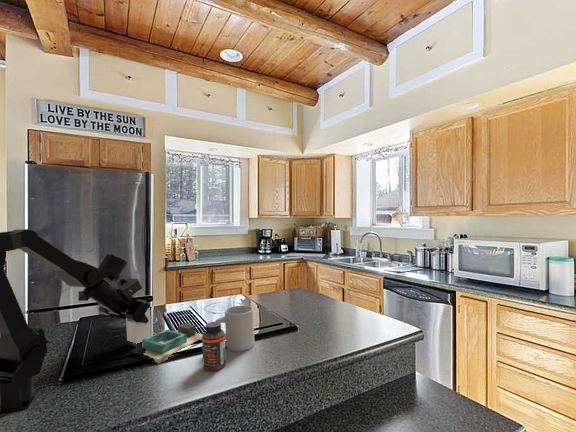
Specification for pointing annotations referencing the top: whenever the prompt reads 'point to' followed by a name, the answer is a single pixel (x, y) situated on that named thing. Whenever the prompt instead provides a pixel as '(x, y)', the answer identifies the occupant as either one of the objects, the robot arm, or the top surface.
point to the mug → (238, 328)
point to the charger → (138, 329)
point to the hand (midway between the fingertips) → (142, 320)
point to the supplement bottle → (213, 347)
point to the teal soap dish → (170, 342)
